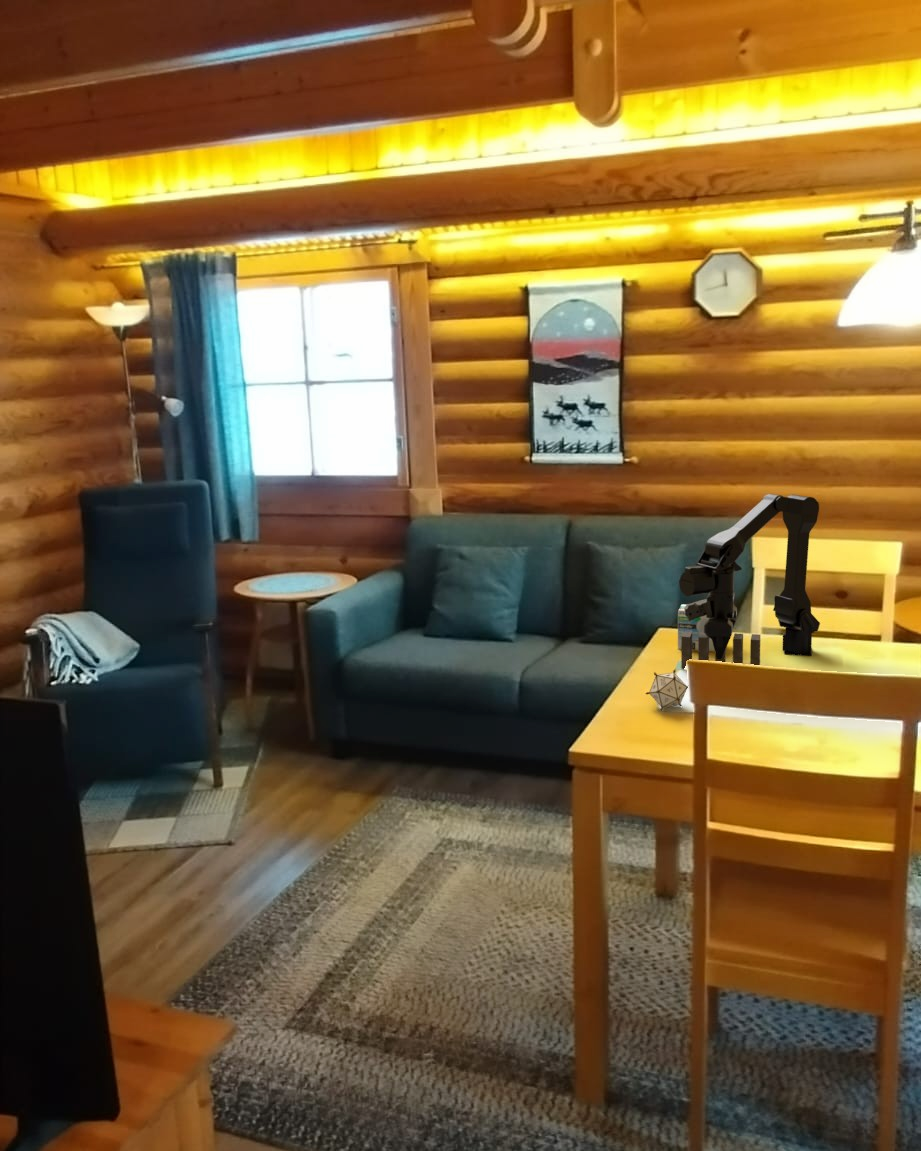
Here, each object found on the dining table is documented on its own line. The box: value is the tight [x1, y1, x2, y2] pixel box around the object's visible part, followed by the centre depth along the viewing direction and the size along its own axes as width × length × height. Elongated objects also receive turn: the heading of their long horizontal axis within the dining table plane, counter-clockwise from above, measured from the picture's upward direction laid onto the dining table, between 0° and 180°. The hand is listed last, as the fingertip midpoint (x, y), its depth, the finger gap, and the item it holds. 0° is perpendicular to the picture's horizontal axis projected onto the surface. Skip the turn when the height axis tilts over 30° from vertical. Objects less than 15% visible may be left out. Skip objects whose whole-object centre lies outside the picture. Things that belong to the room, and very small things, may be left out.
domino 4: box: [732, 633, 744, 664], centre depth 244 cm, size 2×5×8 cm, turn 161°
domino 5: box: [749, 633, 761, 665], centre depth 242 cm, size 2×5×8 cm, turn 161°
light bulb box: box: [677, 603, 715, 652], centre depth 263 cm, size 11×7×11 cm, turn 70°
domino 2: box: [697, 632, 710, 661], centre depth 246 cm, size 2×5×8 cm, turn 161°
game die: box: [645, 669, 689, 712], centre depth 220 cm, size 9×8×10 cm
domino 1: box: [680, 631, 693, 669], centre depth 248 cm, size 2×5×8 cm, turn 161°
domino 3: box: [714, 648, 727, 662], centre depth 245 cm, size 2×5×8 cm, turn 161°
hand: (720, 653), depth 245 cm, fingers open, 9 cm apart
